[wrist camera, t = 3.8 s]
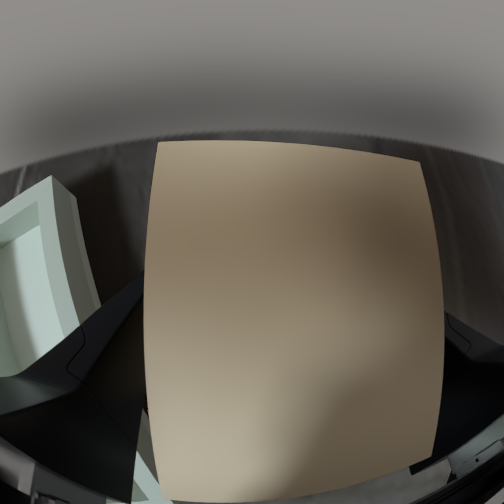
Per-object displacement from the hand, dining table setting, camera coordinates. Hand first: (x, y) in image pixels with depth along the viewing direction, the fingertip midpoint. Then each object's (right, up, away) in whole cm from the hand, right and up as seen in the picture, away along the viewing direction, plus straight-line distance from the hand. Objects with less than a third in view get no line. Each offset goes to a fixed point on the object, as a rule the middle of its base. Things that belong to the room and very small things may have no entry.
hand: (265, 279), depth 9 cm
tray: (-13, -6, +4) cm, 15 cm away
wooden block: (-1, -3, +6) cm, 7 cm away
